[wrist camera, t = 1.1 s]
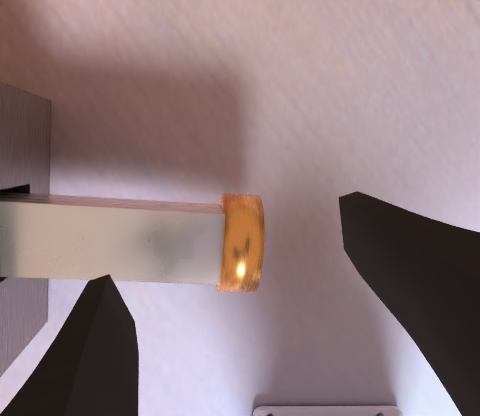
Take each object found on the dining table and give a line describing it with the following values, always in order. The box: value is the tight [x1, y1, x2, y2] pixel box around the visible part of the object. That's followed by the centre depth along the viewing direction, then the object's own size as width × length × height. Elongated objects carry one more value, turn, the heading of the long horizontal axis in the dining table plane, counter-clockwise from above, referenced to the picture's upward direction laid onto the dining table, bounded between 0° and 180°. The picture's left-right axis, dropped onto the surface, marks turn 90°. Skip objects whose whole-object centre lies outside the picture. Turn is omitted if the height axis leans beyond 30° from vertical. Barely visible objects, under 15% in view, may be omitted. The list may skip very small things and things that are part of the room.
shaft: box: [0, 191, 264, 292], centre depth 18 cm, size 14×4×4 cm, turn 85°
